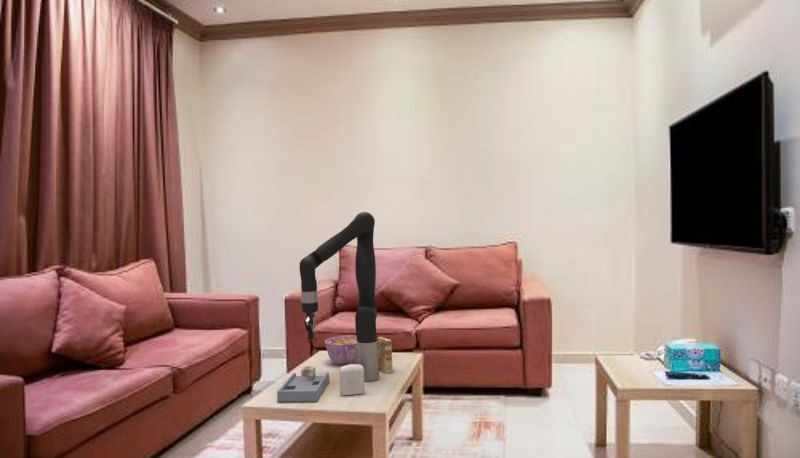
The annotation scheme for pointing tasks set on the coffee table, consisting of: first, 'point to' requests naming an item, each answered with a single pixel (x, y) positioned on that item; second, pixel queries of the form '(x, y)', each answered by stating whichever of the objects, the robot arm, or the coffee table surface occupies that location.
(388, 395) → the coffee table surface
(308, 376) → the cream cube
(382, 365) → the candy box
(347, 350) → the bowl of food
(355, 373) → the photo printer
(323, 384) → the track
